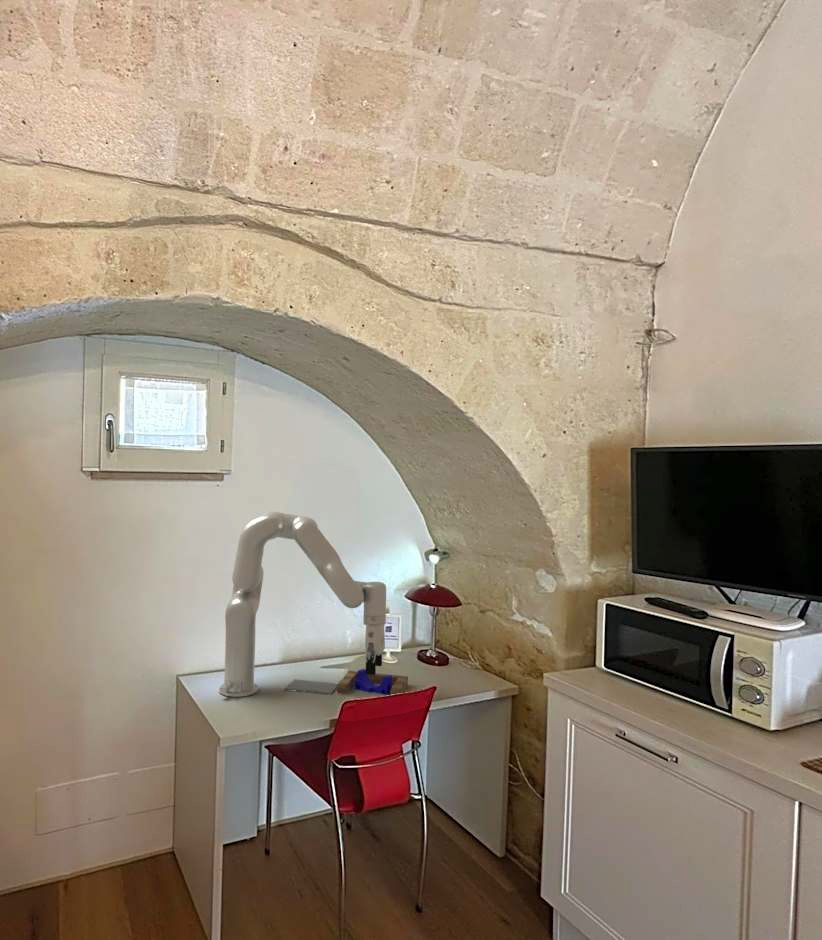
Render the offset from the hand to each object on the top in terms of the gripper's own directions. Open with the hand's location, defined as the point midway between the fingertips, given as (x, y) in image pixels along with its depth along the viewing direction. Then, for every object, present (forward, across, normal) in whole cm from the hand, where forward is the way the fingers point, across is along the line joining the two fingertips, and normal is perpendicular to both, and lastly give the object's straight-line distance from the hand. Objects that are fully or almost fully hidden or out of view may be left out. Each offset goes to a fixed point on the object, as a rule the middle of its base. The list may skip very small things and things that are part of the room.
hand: (373, 670), depth 244 cm
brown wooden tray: (+7, +3, +1) cm, 8 cm away
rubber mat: (+7, -2, +21) cm, 22 cm away
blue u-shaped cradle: (+8, +1, 0) cm, 8 cm away
